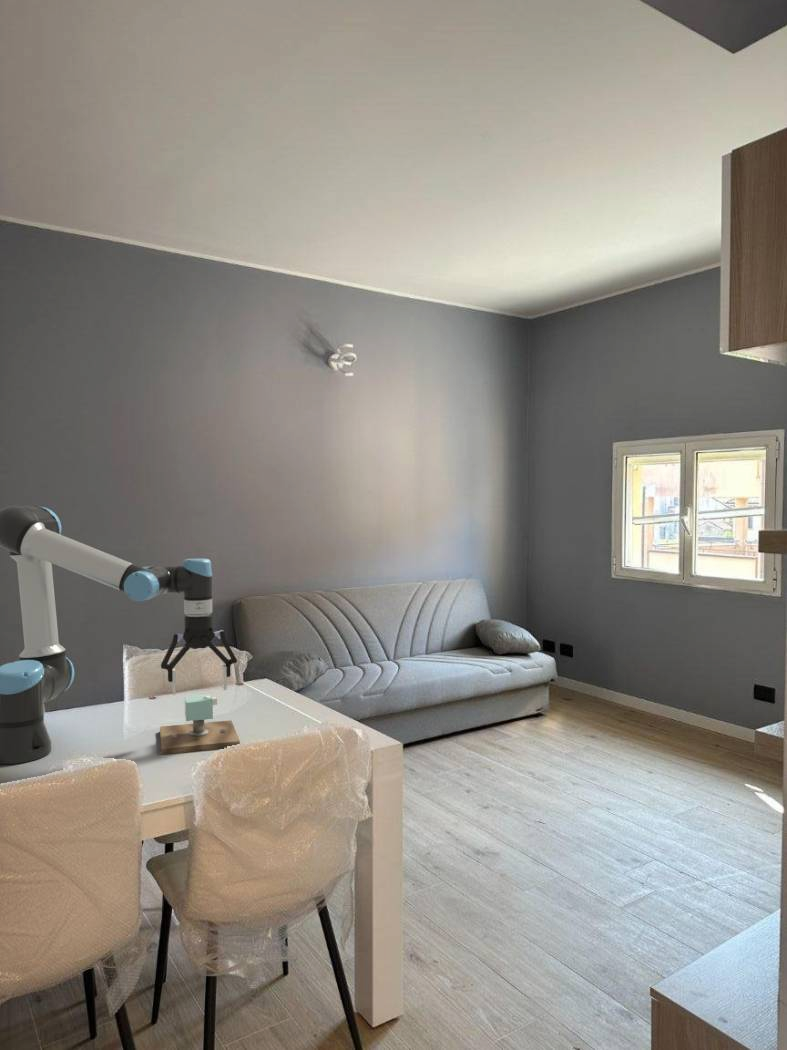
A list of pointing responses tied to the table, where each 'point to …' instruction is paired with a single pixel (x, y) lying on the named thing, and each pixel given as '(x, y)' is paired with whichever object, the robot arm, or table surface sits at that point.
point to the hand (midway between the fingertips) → (199, 691)
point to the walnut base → (197, 736)
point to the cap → (199, 707)
